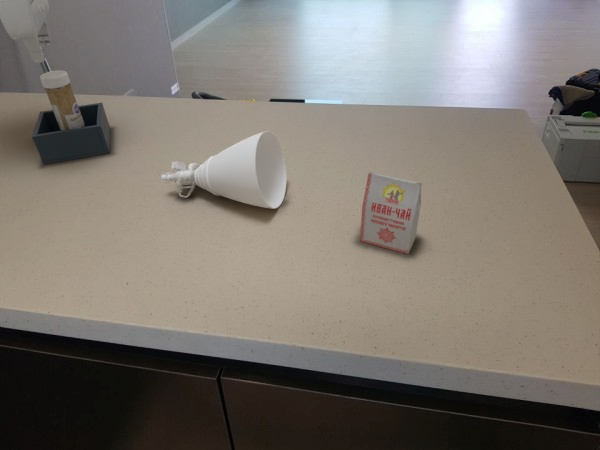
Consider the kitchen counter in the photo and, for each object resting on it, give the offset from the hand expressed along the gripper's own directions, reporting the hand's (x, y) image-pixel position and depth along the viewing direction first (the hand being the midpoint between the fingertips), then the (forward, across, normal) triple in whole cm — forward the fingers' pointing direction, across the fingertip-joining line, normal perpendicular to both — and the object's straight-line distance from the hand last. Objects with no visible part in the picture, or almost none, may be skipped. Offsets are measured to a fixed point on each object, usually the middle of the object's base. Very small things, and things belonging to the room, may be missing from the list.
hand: (43, 53), depth 78 cm
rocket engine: (+18, +27, +26) cm, 41 cm away
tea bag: (+17, +47, +44) cm, 66 cm away
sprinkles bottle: (+17, 0, +1) cm, 17 cm away
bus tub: (+18, 0, 0) cm, 18 cm away
